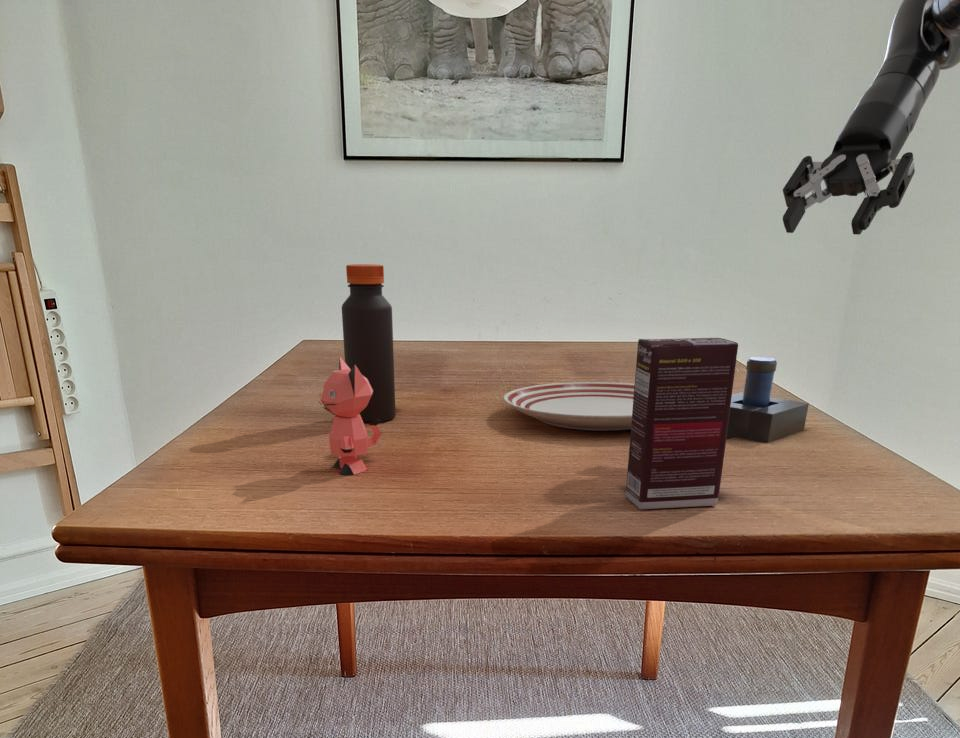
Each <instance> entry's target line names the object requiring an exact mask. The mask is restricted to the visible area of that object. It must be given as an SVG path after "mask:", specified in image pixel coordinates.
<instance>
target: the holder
mask: <svg viewBox="0 0 960 738" xmlns="http://www.w3.org/2000/svg"><path fill="white" fill-rule="evenodd" d="M743 394H744V392H741V391H740V392H736V393H732V397H731V405H730V413H729V422H728V429H727V437H726V441H727V440H731V439H733V438H740V439H744V440H745V439H746V440H751V441H755V442H760V443H766V444H769V443H772V442H775V441H777V440H781V439H783V438H788V437H790V436H792V435H795V434H797V433H801V432H803V431H805V426H806V422H807V416H808V410H809V406H810V405H809V404H810V403H809V402H805V401H798V400H797V401H796V400H791V399H785V398H778V397H772V396H770V401H769V406H768V407H764V408H761V407H755V406H749V405H743V404H742V400H743Z"/></svg>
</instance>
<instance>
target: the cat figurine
mask: <svg viewBox="0 0 960 738" xmlns="http://www.w3.org/2000/svg"><path fill="white" fill-rule="evenodd" d="M338 357H339V359H338V361H339V362H338V369H336V370H334V371H333V372H332V373H331V374H330V375H329V377H328V378H327V379H326V381H324V385H323V390H322V393H321V392H319V395H321V397H320V401H318V403H319V404H320V406H321V407H322V408H323V410H326V412H328V413H330V414H332V415H333V416H334V417H333V421H332V424H331V428H330V432H329V435H328V441H329V448H330V454H331V455H333V456H337V457H338V458H337V459H336V461H335V462H334V463H333V464H332V467H333V468H337V469H340V472H339V474H340V475H342V476H354V475H358V474H361V473H365V472H366V471H367V470H368V468H367V466H366V465H365V463H364V461H363V460H362V458H360V457H357V456H365V455H367V454H368V447H373V446H375V445H376V443H377V442H378V440H379V439H380V437H381V436H382V434H383V432H382V431H381V429H380V428H379V427H378V426H377V425H379V424H380V423H382V422H381V421H380V420H378V419H374V420H373V421H372V422H371V423H369V424H368V427H369V428H370V430H372V432H373V434H372V436H371V438H369V434H368V431H367V428H366V425H365V422H363V421H362V418H361V416H360V414H359V413H360V412H361V411H362V410H363V409H365V408H366V407H367V405H368V403H369V400H370V398H371V396H372V393H373V389H372V387H371V385H370V383H369V381H368V379H367V378H365V377H364V376H363V375H362V374H361V372H360V371H359V369H358V368H357V366H356V365H354V366H353V368H352V369H350V368H349V367H348V366H347V364H346V363H345V360H343V358H342V357H341V356H340V355H339V356H338Z"/></svg>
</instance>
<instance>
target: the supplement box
mask: <svg viewBox="0 0 960 738" xmlns="http://www.w3.org/2000/svg"><path fill="white" fill-rule="evenodd" d="M738 349H739V343H738V342H736V341H734V340H730V339H727V338H726V339H725V338H722V337H692V338H689V337H688V338H687V337H686V338H639V339H638V340H637V349H636V350H637V351H636V362H635V363H636V364H635V374H634V375H635V376H634V384H635V386H634V397H633V410H632V422H631V430H630V436H629V438H630V439H629V447H628V448H629V449H628V461H627V472H626V483H625V498H627V499H628V500H629V501H630V502H631V503H632V504H633V505H634V506H635V507H636V508H638V509H639V510H641V511H642V510H658V509H659V510H660V509H674V508H693V507H712V506H713V507H715V506H718V504H719V497H720V490H721V482H722V474H723V467H724V462H725V461H724V460H725V459H724V458H725V453H726V443H727V440H726V437H727V429H728V422H729V413H730V405H731V397H732V395H733V389H734V388H733V387H734V381H735V372H736V367H737V366H736V365H737V359H738V358H737V357H738Z"/></svg>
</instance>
